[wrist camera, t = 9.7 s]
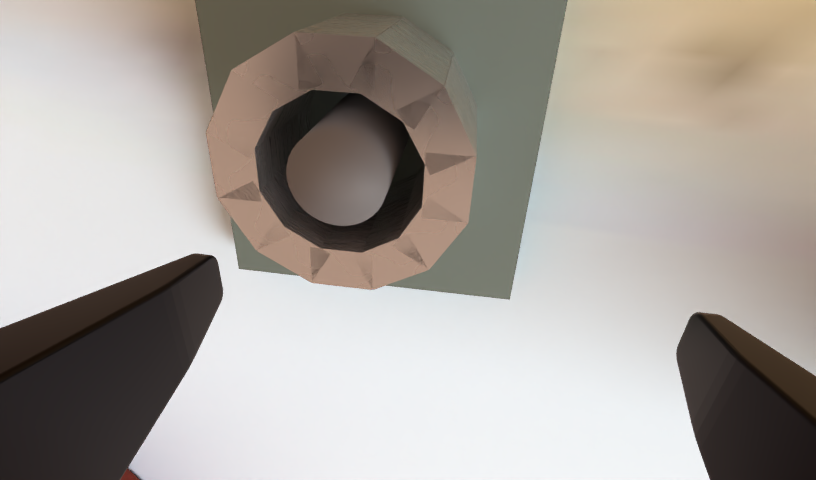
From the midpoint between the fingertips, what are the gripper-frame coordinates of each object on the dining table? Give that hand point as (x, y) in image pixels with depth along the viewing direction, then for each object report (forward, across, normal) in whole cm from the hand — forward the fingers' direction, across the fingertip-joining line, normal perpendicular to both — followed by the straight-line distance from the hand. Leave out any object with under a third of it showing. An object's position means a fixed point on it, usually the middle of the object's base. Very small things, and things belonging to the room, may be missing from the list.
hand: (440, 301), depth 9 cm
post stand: (+11, +3, 0) cm, 11 cm away
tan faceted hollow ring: (+9, +3, 0) cm, 10 cm away
